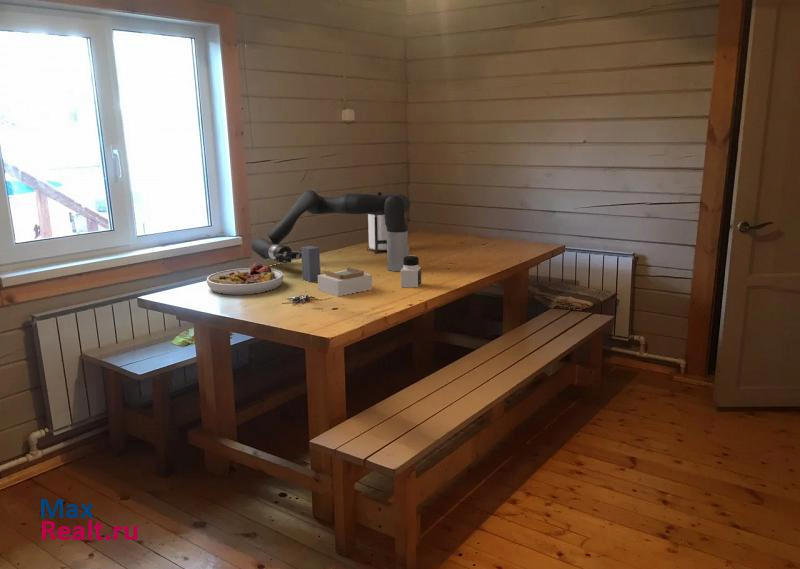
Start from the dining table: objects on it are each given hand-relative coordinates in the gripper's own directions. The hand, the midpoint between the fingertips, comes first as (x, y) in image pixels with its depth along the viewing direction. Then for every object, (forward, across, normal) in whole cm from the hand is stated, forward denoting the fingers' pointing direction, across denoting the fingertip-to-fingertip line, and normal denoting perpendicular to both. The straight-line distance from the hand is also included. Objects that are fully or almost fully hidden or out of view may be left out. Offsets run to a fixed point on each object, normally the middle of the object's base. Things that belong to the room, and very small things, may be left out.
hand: (299, 258), depth 286 cm
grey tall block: (+9, 0, +8) cm, 12 cm away
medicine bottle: (+44, +25, +8) cm, 52 cm away
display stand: (+32, +1, +8) cm, 33 cm away
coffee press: (-21, +61, +8) cm, 65 cm away
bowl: (+1, -26, +8) cm, 27 cm away
